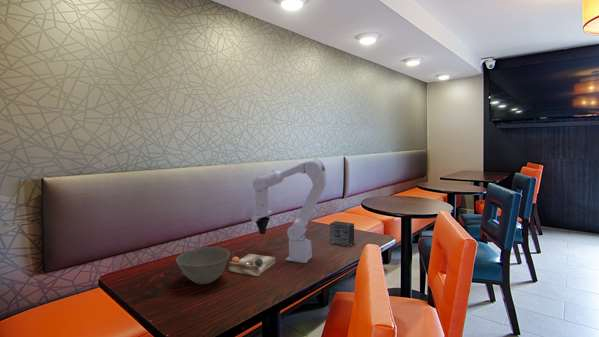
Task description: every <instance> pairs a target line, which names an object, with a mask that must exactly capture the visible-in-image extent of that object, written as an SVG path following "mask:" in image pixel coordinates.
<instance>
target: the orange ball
mask: <svg viewBox="0 0 599 337" xmlns="http://www.w3.org/2000/svg"><path fill="white" fill-rule="evenodd" d="M239 260H240V258H239V257H238V256H233V257H232V258H231V262H235V263H239Z"/></svg>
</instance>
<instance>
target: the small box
mask: <svg viewBox="0 0 599 337" xmlns="http://www.w3.org/2000/svg"><path fill="white" fill-rule="evenodd" d="M329 225H330V226H329V228H330V229H329V233H330V236H329V240H330V243H333V244H332V245H334V244H338V245H337V246H340V245H344V246H343V247H346V246H350V245H351V244H353V243H354V244H355V223H354V222H353V223H352V222H345V221H337V220H335V221H333V222H330V224H329ZM354 244H353V245H354ZM350 247H351V246H350Z"/></svg>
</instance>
